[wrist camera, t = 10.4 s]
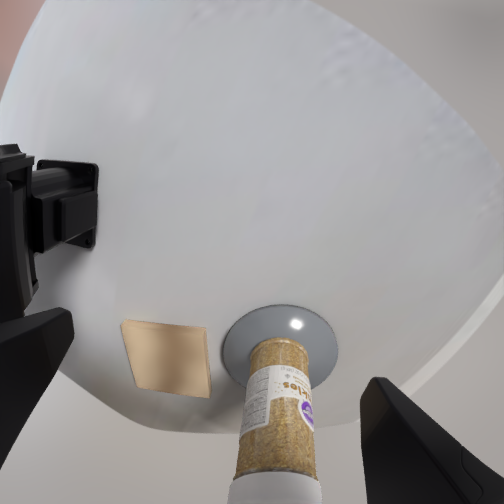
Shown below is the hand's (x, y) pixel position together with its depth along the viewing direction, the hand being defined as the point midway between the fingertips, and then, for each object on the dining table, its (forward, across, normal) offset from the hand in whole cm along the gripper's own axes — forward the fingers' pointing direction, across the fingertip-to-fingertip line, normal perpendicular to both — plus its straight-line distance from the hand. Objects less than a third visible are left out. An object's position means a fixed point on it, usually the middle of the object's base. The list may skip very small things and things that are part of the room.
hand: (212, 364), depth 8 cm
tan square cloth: (+13, +5, +12) cm, 18 cm away
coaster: (+13, -4, +9) cm, 16 cm away
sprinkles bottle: (+13, -4, +9) cm, 16 cm away
